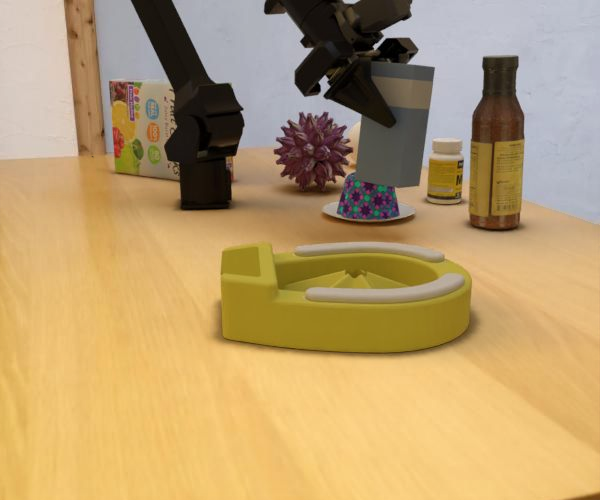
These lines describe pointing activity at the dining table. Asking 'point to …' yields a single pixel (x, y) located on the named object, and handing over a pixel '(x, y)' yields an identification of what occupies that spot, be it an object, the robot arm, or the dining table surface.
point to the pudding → (367, 203)
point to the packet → (396, 126)
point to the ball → (354, 140)
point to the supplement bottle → (445, 171)
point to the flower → (313, 150)
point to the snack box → (144, 127)
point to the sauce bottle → (497, 148)
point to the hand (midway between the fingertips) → (404, 123)
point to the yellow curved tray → (343, 297)
